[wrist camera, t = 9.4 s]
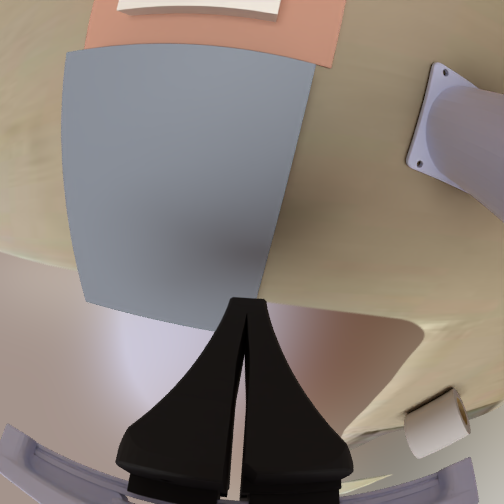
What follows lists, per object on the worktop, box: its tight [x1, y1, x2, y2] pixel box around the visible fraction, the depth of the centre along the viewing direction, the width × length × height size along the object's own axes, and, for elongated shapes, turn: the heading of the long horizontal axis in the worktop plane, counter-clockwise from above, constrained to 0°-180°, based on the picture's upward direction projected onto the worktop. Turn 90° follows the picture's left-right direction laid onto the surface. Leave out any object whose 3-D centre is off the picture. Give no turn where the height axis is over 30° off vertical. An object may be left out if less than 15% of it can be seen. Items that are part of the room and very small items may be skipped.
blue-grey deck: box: [61, 44, 316, 331], centre depth 16 cm, size 13×18×4 cm
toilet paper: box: [404, 388, 470, 458], centre depth 34 cm, size 10×10×10 cm
